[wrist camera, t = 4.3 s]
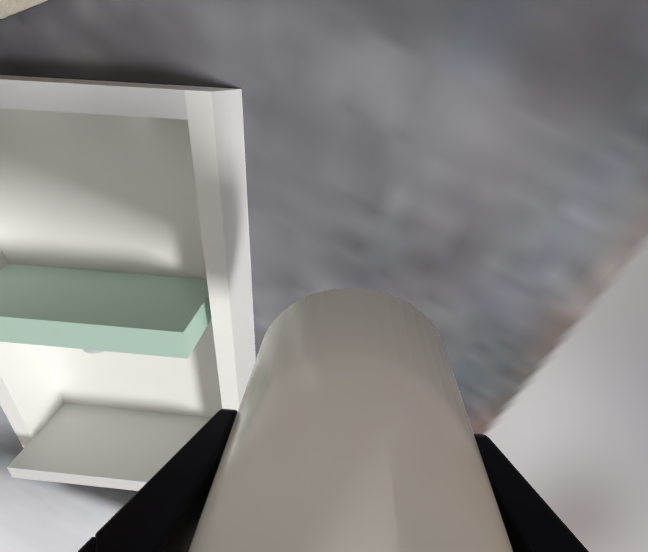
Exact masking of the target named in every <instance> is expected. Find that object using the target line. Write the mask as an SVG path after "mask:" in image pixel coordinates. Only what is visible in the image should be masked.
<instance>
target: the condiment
mask: <svg viewBox="0 0 648 552" xmlns="http://www.w3.org/2000/svg"><path fill="white" fill-rule="evenodd" d="M45 1H47V0H0V19H3V18H5V17H7V16H9V15H12V14H15V13H18V12H20V11H23V10H25V9H28V8H30V7H32V6H35V5H38V4H40V3H42V2H45Z"/></svg>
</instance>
